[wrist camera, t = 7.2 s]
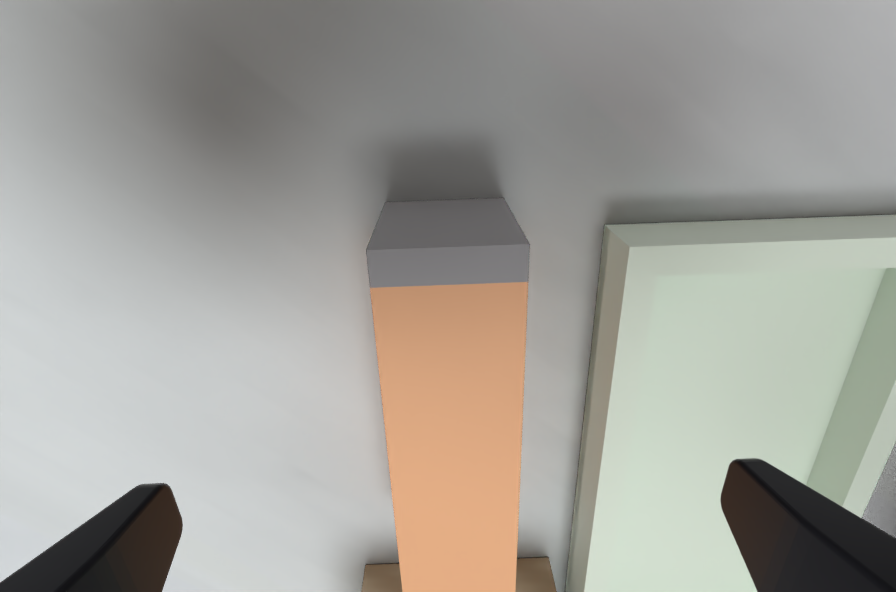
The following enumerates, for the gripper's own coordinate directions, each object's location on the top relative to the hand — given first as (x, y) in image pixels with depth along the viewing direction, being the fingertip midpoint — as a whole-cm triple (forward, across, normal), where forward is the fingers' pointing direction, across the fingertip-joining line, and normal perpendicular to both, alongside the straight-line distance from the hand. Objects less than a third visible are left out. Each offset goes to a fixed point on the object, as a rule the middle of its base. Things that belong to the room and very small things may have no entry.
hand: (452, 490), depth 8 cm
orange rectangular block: (+10, 0, +5) cm, 11 cm away
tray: (+10, -11, +10) cm, 18 cm away
